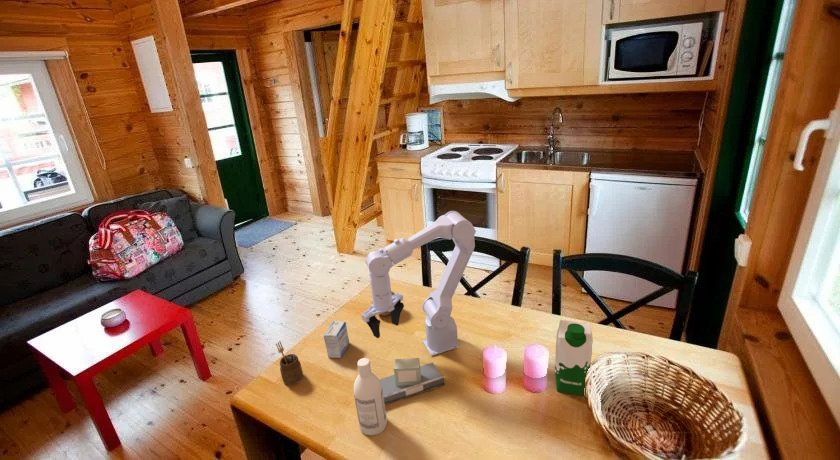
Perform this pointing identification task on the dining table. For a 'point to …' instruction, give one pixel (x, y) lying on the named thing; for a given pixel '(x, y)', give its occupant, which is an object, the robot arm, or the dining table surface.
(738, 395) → the dining table surface
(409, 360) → the carton
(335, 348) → the medicine box
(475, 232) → the robot arm
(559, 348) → the milk carton
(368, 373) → the bath foam
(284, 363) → the utensil holder
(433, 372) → the shelf board
